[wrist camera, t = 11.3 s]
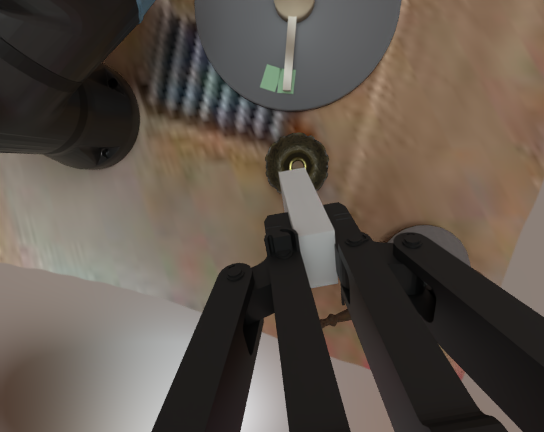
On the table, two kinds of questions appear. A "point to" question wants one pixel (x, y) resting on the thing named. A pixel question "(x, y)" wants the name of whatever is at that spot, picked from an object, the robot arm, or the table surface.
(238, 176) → the table surface
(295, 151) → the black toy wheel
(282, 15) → the brown bar with rod
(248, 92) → the dial plate
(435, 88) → the table surface
